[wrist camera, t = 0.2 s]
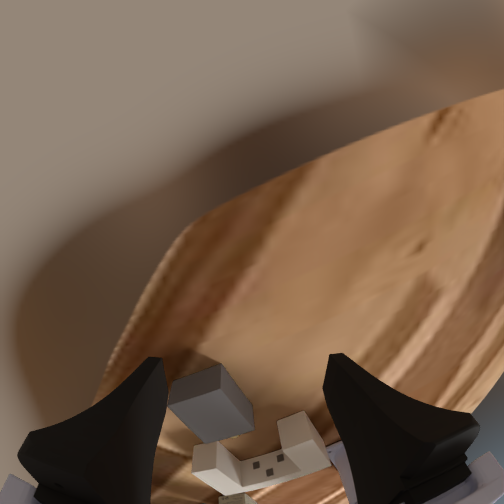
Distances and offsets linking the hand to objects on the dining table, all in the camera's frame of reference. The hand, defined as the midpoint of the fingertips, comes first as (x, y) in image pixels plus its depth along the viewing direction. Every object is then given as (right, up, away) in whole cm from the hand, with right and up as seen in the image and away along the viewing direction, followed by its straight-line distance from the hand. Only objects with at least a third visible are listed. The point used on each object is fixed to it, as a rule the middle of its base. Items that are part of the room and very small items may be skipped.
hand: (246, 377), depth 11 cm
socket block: (+1, -16, +15) cm, 22 cm away
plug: (-3, -8, +13) cm, 15 cm away
